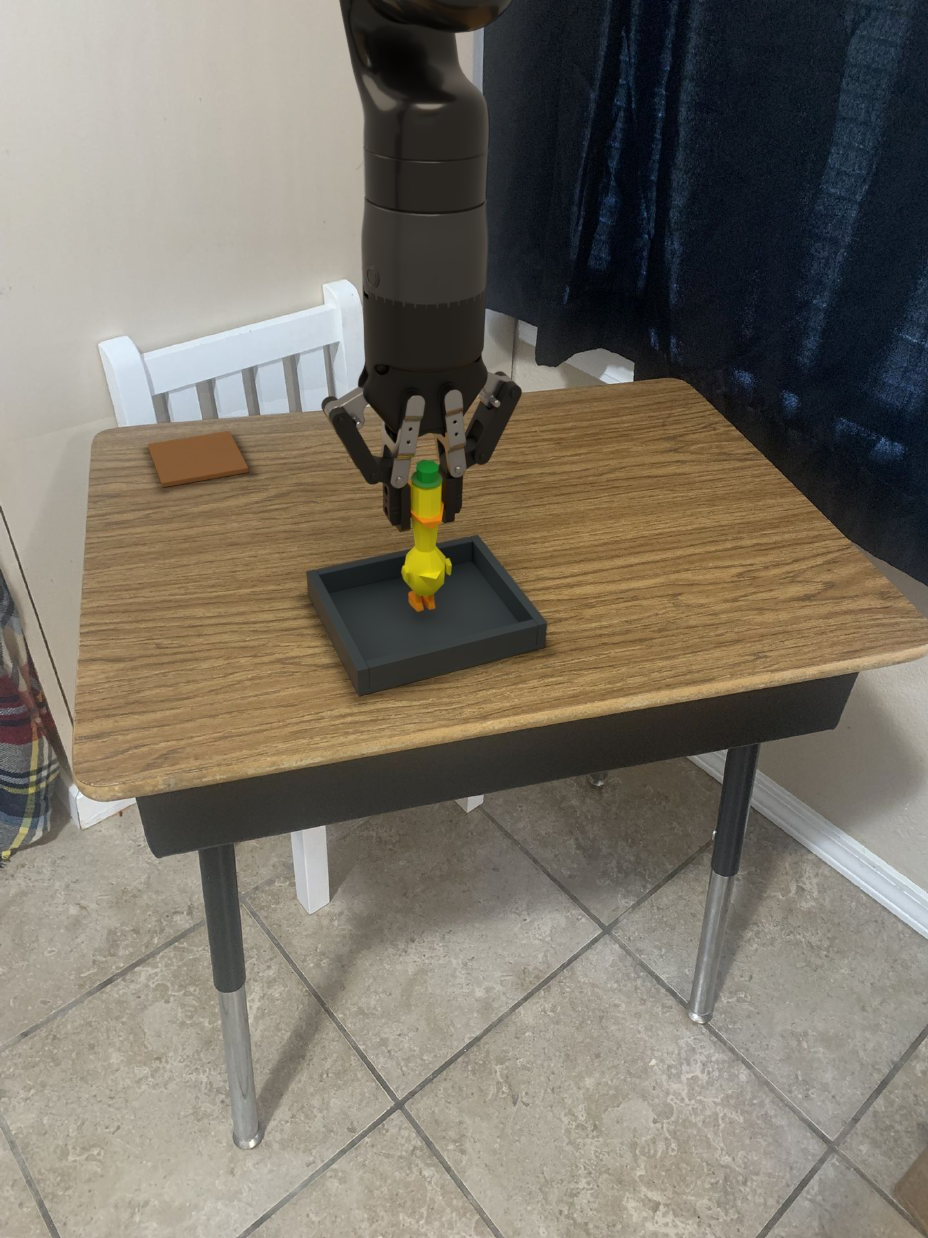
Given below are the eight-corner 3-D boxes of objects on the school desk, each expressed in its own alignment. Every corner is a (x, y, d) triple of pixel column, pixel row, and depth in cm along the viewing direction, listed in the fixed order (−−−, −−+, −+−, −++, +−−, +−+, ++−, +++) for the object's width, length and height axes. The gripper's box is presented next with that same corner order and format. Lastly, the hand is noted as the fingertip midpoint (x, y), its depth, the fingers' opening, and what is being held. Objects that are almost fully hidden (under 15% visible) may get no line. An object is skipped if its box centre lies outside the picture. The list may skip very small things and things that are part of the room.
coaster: (162, 487, 89) (161, 482, 89) (148, 448, 95) (147, 443, 95) (249, 472, 92) (248, 467, 92) (230, 434, 98) (229, 430, 98)
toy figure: (386, 580, 76) (385, 439, 68) (430, 572, 77) (433, 433, 69) (412, 632, 71) (413, 486, 63) (459, 623, 72) (465, 478, 64)
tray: (359, 696, 68) (357, 670, 67) (307, 595, 77) (305, 570, 76) (545, 647, 73) (547, 622, 71) (476, 558, 82) (477, 533, 80)
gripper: (503, 247, 64) (490, 480, 74) (294, 267, 59) (311, 513, 70) (557, 284, 58) (534, 530, 69) (331, 310, 54) (343, 569, 64)
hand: (422, 520), depth 69 cm, fingers closed on toy figure, 2 cm apart
